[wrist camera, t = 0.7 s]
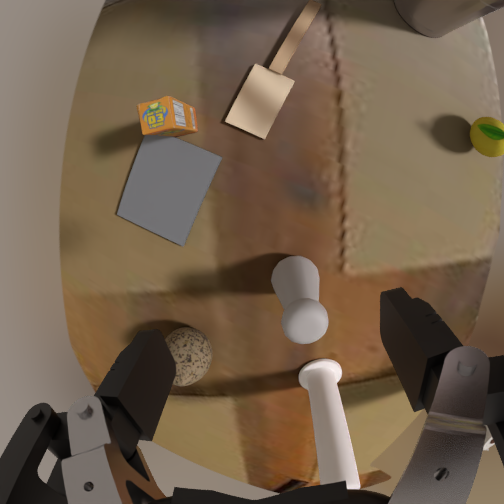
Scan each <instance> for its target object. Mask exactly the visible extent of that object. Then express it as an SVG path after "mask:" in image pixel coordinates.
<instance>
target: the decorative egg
mask: <svg viewBox="0 0 504 504" xmlns="http://www.w3.org/2000/svg"><path fill="white" fill-rule="evenodd" d="M165 341H166V343H167V345H168V348H169V350H170V352H171V354H172V356H173V358H174V360H175V363H176V376H175V379H174V381H173V384H174V385H176V386H187V385H190V384H193V383H195V382H196V381H198V380H199V379H201V378H202V377H203V376H204V375H205V374H206V372H207V371H208V369H209V367H210V364H211V361H212V348H211V344H210V342H209V340H208V338H207V337H206V336H205V335H204V334H203V333H202V332H200V331H199V330H197V329H194V328H190V327H183V328H179V329H176V330H174V331H173V332H171V333H170V334H169V335H168V336H167V337H166V338H165Z"/></svg>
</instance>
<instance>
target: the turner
mask: <svg viewBox="0 0 504 504" xmlns="http://www.w3.org/2000/svg"><path fill="white" fill-rule="evenodd" d="M321 5H322V4H320V3H318V2H315V1H313V0H309V1H308V3H307V5H306V6H305V8H304V9H303V11H302V12H301V14H300V16H299V17H298V19H297V21H296V22H295V24H294V26H293V27H292V29H291V30H290V32H289V34H288V36H287V37H286V39H285V41H284V42H283V44H282V46H281V48H280V49H279V51H278V53H277V55H276V56H275V58H274V60H273V62H272V63H271V65H270V67H269V69H267V68H264V67H262V66H260V65H257V64H255V65H254V67H253V69H252V71H251V72H250V74H249V76H248V78H247V80H246V82H245V83H244V85H243V87H242V89H241V91H240V93H239V95H238V97H237V99H236V101H235V102H234V104H233V106H232V108H231V110H230V112H229V114H228V116H227V118H226V120H225V122H227V123H229V124H231V125H234V126H236V127H238V128H241V129H243V130H245V131H247V132H250V133H252V134H254V135H256V136H258V137H260V138H263V139H265V138H266V136H267V134H268V132H269V130H270V128H271V126H272V124H273V122H274V120H275V118H276V116H277V114H278V112H279V110H280V108H281V107H282V105H283V103H284V101H285V99H286V97H287V95H288V93H289V91H290V89H291V87H292V86H293V84H294V82H295V81H294V80H291V79H289V78H287V77H285V76H283V75H282V73H283V72H284V70H285V68H286V66H287V64H288V63H289V61H290V59H291V57H292V55H293V54H294V52H295V50H296V48H297V47H298V45H299V43H300V41H301V40H302V38H303V36H304V34H305V33H306V31H307V29H308V28H309V26H310V24H311V23H312V21H313V19H314V17H315V16H316V14H317V13H318V11H319V9H320V8H321Z"/></svg>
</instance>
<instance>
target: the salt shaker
mask: <svg viewBox="0 0 504 504" xmlns="http://www.w3.org/2000/svg"><path fill="white" fill-rule="evenodd" d="M271 283H272V286H273V289H274V291H275V293H276V295H277V297H278V298H279V300H280V302H281V304H282V306H283V308H284V312H283V316H282V320H281V324H282V327H283V330H284V333H285V336H287V337H288V338H289V339H290V340H291V341H292V342H296V343H299V344H308V343H312V342H314V341H316V340H318V339H320V338H321V337H322V336H323V335H324V334H325V333H326V330H327V327H328V317H327V312H326V309H325V308H324V307H323V306H322V305H321V304H320V303H319V274H318V270H317V268H316V266H315V265H314V264H313V263H312V262H311V261H310V260H309V259H307V258H304V257H302V256H289V257H287V258H285V259H283V260H281V261H279V263H278V264H277V266H276V267H275V268H274V270H273V273H272V278H271Z"/></svg>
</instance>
